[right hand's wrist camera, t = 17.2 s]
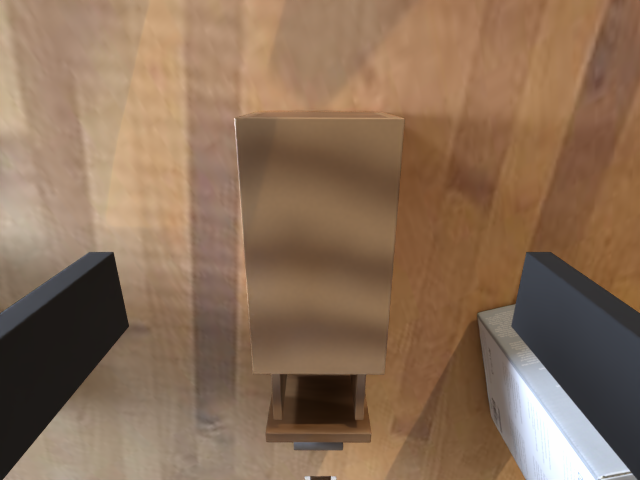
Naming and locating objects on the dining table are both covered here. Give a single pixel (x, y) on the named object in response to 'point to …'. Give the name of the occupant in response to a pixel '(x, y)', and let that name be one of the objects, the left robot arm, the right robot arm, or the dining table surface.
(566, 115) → the dining table surface
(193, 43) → the dining table surface
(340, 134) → the cabinet
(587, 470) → the hard drive box
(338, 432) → the drawer
